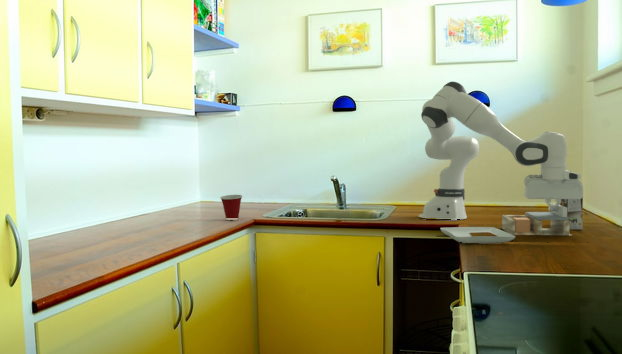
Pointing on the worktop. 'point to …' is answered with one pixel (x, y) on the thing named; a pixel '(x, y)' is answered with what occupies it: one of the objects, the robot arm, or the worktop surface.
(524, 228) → the terracotta block
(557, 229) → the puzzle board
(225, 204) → the plastic cup
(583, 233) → the worktop surface
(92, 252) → the worktop surface
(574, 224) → the coffee box
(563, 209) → the sliding roof
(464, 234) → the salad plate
